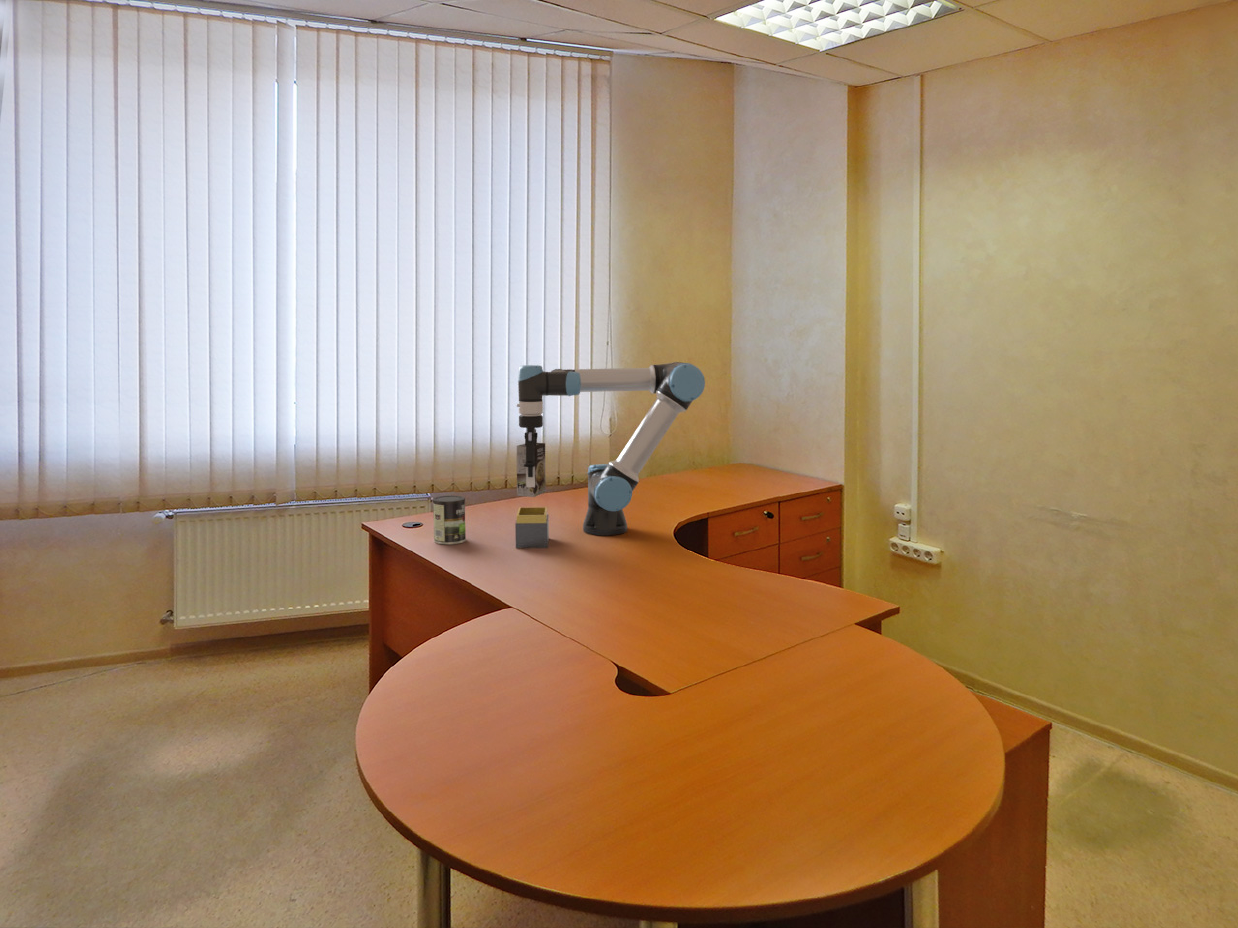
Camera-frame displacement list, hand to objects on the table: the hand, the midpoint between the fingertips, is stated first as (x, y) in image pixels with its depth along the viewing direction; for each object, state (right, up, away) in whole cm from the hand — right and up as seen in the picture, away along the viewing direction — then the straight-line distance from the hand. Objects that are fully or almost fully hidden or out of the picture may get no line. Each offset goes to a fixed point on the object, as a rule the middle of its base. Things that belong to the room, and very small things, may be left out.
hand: (531, 483), depth 269 cm
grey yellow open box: (0, -19, +3) cm, 19 cm away
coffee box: (0, -3, +1) cm, 4 cm away
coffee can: (-27, -19, +6) cm, 34 cm away
